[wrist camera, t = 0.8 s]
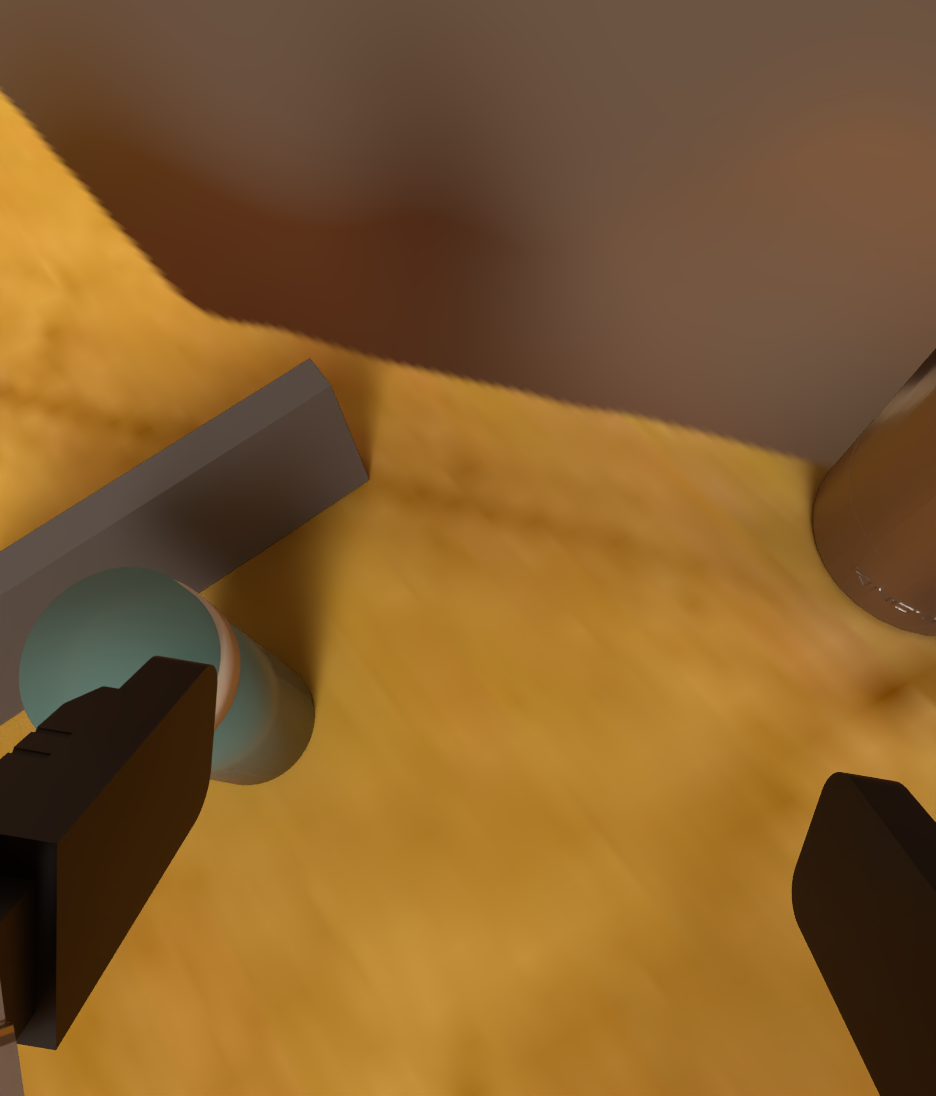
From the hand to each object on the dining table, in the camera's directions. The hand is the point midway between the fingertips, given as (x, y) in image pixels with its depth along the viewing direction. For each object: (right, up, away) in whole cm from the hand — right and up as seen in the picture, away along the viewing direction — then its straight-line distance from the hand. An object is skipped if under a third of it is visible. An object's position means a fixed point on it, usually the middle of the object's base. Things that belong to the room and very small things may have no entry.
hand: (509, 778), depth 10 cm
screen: (-14, +1, +24) cm, 28 cm away
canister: (-9, -4, +22) cm, 24 cm away
